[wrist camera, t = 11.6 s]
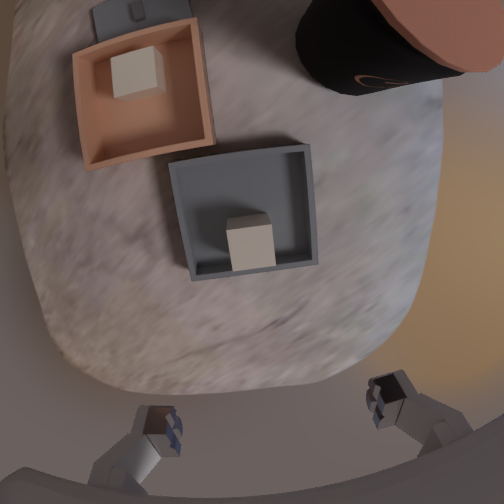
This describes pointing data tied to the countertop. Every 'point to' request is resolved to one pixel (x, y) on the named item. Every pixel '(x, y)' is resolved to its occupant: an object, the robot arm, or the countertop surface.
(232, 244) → the stone
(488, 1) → the coffee jar
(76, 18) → the countertop surface
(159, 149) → the terracotta bin
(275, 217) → the tray
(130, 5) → the tray lid
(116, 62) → the cream cube
